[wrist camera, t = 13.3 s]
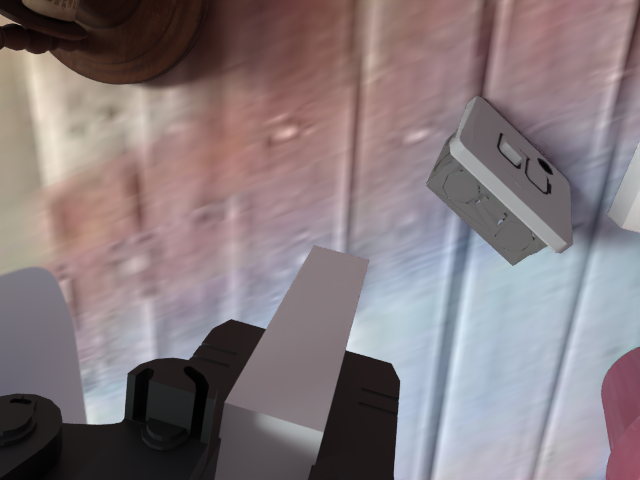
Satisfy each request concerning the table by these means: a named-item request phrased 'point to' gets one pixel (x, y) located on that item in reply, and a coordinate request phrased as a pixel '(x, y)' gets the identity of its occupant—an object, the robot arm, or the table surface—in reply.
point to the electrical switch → (503, 186)
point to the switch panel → (628, 198)
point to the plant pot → (623, 416)
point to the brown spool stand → (106, 34)
